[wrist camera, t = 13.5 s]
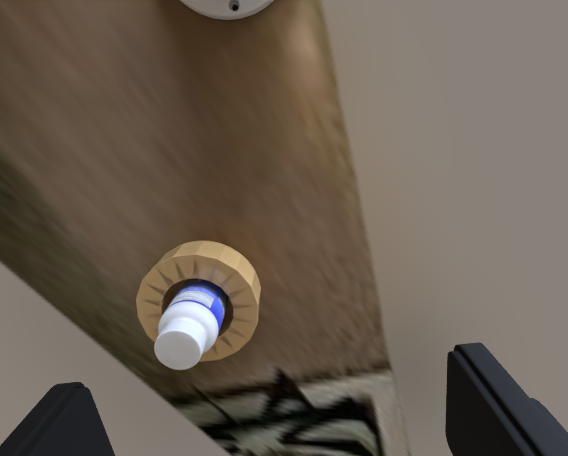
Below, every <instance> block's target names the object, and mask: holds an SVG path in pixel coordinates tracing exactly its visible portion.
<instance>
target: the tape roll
mask: <svg viewBox="0 0 568 456" xmlns="http://www.w3.org/2000/svg"><path fill="white" fill-rule="evenodd" d="M194 278H198V279H203V280H208V281H210V282H212V283H214V284H216V285H218V286H219V287H221V288H222V289H223V291H224V292H225V293H226V294H227V295H228V296H229V303H228V306H227V309H226V312H225V315H224V318H223V321H222V324H221V327H220V330H219V333H218V336H217V338H216V341H215V343H214V345H213V346H212V347H211V348H210V349H209V350H208V351H207V352H205V353H203V354H202V356H201V358H200V360H199V361H200V362H202V361H212V360H220V359H222V358H225V357H227V356H229V355H231V354H234V353H236V352H237V351H239V350H240V349H241V348H242V347H243V346H244V345H245V344H246V343H247V342H248V341H249V340H250V339H251V337H252V335H253V333H254V330H255V328H256V326H257V324H258V318H259V312H260V305H261V286H260V282H259V278H258V276H257V273H256V272H255V270H254V268H253V267H252V265H251V264H250V263H249V261H248V260H247V259H246V258H245V257H244V256H243V255H241V254H240V253H239V252H237V251H236V250H234V249H232V248H231V247H228V246H226V245H224V244H220V243H217V242H212V241H193V242H188V243H184V244H181V245H179V246H177V247H175V248H173V249H172V250H170V251H168V252H167V253H166V254H165V255H164V256H163V257H162V258H161V259H160V260H159V262H158V263H157V264H156V265H155V266H154V267H153V268H152V269H151V271H150V272H149V273H148V274H147V275H146V276H145V277H144V279H143V280H142V281H141V285H140V288H139V291H138V294H137V297H136V303H137V313H138V318H139V320H140V322H141V324H142V326H143V328H144V330H145V332H146V334H147V335H148V336H149V337H150V338H151V339H152V340H153V341H154V342H156V339H157V337H158V336H159V333H158V326H159V322H160V319H161V317H162V315H163V314H164V312H165V311H166V309H167V308H168V306H169V305H170V303H171V302H172V301H173V299H174V298H175V296H176V295H177V293H178V292H179V290H180V289H181V287H182V285H183V284H184V283H185V281H186V280H187V279H194ZM199 361H198V362H199Z"/></svg>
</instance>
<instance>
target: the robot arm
mask: <svg viewBox="0 0 568 456" xmlns="http://www.w3.org/2000/svg"><path fill="white" fill-rule="evenodd" d="M180 1H181V2H182V3H184V4H185V5H186V6H187V7H189V8H191V9H192V10H194V11H196V12H197V13H199V14H202V15H205V16H207V17H210V18H214V19H222V20H233V19H242V18H245V17H248V16H251V15H254V14H256V13H257V12H259V11H261V10H262V9H264V8H266V7H267V6H268V5H269V4H271V3H272V2H273V1H274V0H180ZM235 5H236V6H238V10H237V11H233V7H234V6H235ZM447 359H448V360H447V395H446V438H447V442H448V445H449V448H450V450H451V452H452V454H453V456H568V432H567V431H566V430H565V429H564V428H563V427H562V426H561V425H560V423H559V422H558V421H557V420H556V419H555V418H554V417H553V415H552V414H551V413H550V412H549V411H548V410H547V409H546V408H545V407H544V406H543V405H542V404H541V403H540V402H539V401H537V400H535V399H534V398H529V397H528V396H527V394H526V393H525V392H524V391H523V390H522V389H521V387H520V386H519V385H518V384H517V383H516V382H515V381H514V379H513V378H512V377H511V376H510V375H509V374H508V372H507V371H506V370H505V369H504V368H503V367H502V366H501V364H500V363H499V362H498V361H497V360H496V359H495V357H494V356H493V355H492V354H491V353H490V352H489V351H488V349H487V348H486V347H485V346H484V345H483V344H482V343H469V344H460V345H455V347H454V351H452V352H449V353H448V358H447ZM0 456H115V454H114V451H113V449H112V446H111V444H110V441H109V439H108V436H107V434H106V431H105V428H104V426H103V423H102V421H101V418H100V415H99V413H98V410H97V408H96V405H95V402H94V400H93V397H92V395H91V392H90V390H89V389H88V388H87V387H85V386H84V385H83V384H82V383H81V382H74V383H64V384H57V385H55V386H53V387H52V388H51V389H50V390H49V391H48V392H47V393H46V395H45V396H44V397H43V398H42V399H41V400H40V401H39V402H38V404H37V405H36V406H35V407H34V408H33V409H32V410H31V412H30V413H29V414H28V415H27V416H26V417H25V418H24V419H23V421H22V422H21V423H20V424H19V425H18V426H17V427H16V429H15V430H14V431H13V432H12V433H11V434H10V435H9V437H8V438H7V439H6V440H5V441H4V442H3V443H2V444H1V446H0Z"/></svg>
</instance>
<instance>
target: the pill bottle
mask: <svg viewBox="0 0 568 456" xmlns="http://www.w3.org/2000/svg"><path fill="white" fill-rule="evenodd" d="M228 303H229V296H228V295H227V294H226V293H225V292H224V291H223V289H222V288H221V287H219V286H218V285H216V284H214V283H212V282H210V281H208V280H203V279H198V278H194V279H187V280H186V281H185V283H184V284H183V285H182V287H181V289H180V290H179V292H178V293H177V295H176V296H175V298H174V299H173V301H172V302H171V303H170V305H169V306H168V308H167V309H166V311H165V312H164V314H163V315H162V317H161V319H160V322H159V326H158V333H159V336H158V337H157V339H156V342H155V345H154V350H155V354H156V356H157V358H158V360H159V361H160V362H161V363H162V364H164V365H165V366H167V367H169V368H171V369H175V370H185V369H189V368H191V367H193V366H194V365H196V364H197V363H198V361H199V360H200V358H201V356H202V354H203V353H205V352H207V351H208V350H209V349H210V348H211V347H212V346H213V345H214V343H215V341H216V338H217V336H218V333H219V330H220V327H221V324H222V321H223V318H224V315H225V312H226V309H227V306H228Z"/></svg>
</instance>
